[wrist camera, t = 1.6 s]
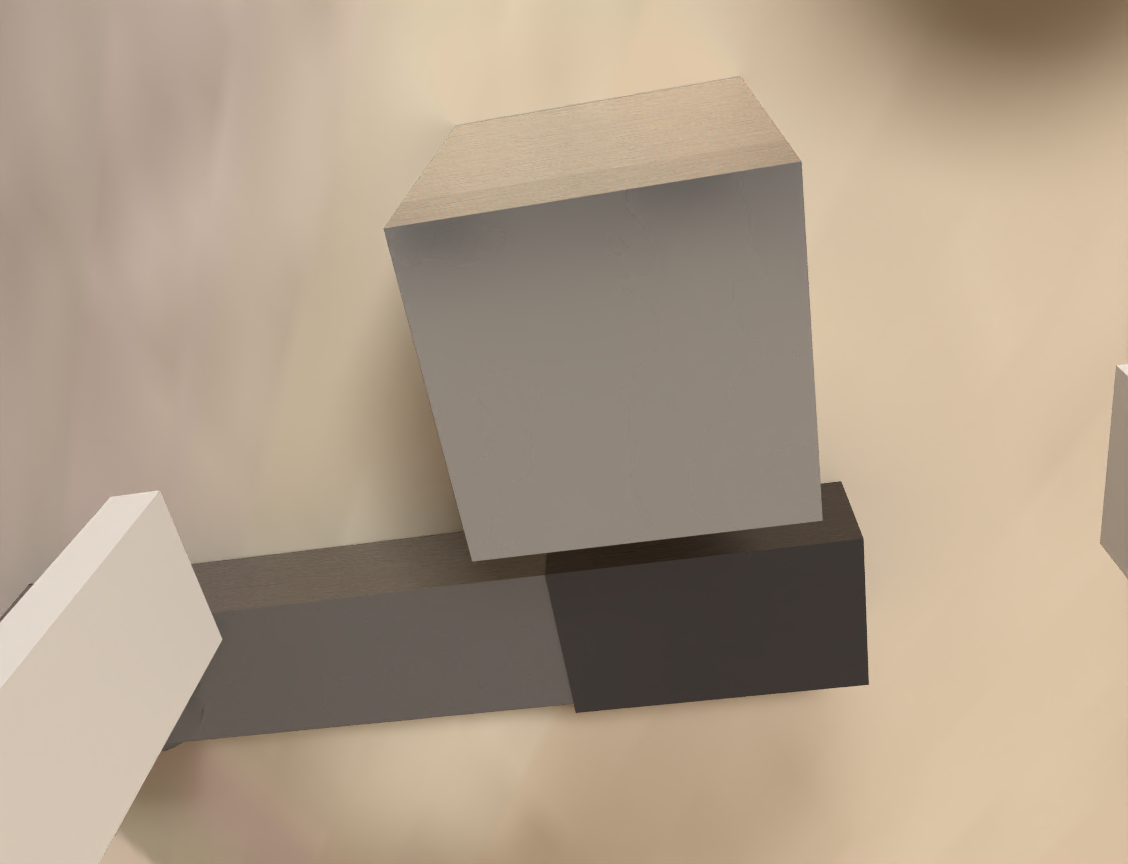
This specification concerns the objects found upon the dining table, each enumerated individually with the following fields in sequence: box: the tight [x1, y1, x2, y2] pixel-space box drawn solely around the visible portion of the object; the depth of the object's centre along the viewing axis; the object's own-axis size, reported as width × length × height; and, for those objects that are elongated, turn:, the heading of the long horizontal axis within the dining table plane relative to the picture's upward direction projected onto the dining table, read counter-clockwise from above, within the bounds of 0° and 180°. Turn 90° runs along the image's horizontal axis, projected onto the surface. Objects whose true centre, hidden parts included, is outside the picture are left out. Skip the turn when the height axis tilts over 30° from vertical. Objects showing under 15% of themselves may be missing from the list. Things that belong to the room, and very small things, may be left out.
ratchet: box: [0, 482, 869, 836], centre depth 26 cm, size 24×5×6 cm, turn 100°
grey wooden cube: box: [384, 77, 823, 562], centre depth 20 cm, size 6×6×8 cm
